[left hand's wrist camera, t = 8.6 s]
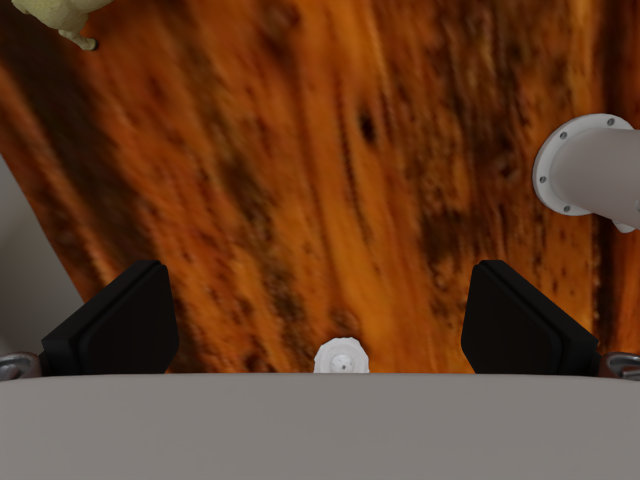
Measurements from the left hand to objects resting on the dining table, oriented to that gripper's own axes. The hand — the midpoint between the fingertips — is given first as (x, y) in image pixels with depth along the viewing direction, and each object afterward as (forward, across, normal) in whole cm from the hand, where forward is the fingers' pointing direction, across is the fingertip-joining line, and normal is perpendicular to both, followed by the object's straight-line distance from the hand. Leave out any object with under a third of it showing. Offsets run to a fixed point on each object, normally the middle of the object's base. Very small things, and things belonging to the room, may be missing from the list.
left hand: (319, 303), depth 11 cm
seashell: (+36, -3, +30) cm, 47 cm away
